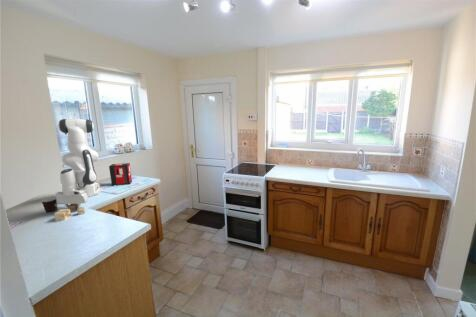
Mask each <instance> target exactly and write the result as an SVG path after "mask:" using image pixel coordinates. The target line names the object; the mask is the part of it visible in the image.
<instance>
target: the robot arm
mask: <svg viewBox="0 0 476 317" xmlns="http://www.w3.org/2000/svg"><path fill="white" fill-rule="evenodd" d="M57 127H58V129H59V131H60V132H61V133H63V134H65V135H66V136H67V148H68V151H69V152H68V153H65V154H63V155H62V157H61V161H62V163H63V164H64V165H65V166H66V167H69V168H65V169H63V170H61V171H60V173H59V180H60V184H61V185H62V187H61V189H62V191H57V192H56V193H55V197H56V201H57V205H64V206H65V208H67V209H68V207H67V206H69V205H70V204H77V205H78V206H77V207H76V208H80V207H81V205H82V204H86V203H87V202H89V198H90V197H92V196H95V195H96V196H97V195H99V194H100V193H101V192H102V191H103V190H104V188H103V187H101V186H100V185H101V184H99V183H98V182H96V181H97V178H98V176H97V173H96V171H95V167H94V162H97V161H98V160H99V153H98V151H96V150H94V149H92V148H91V147H90V145H89V142H88V134H90V133H92V132H93V131H94V128H95V124H94V122H93V121H92V120H90V119H83V118H69V119H68V118H63V119H60V120H59V121H58V126H57ZM88 197H89V198H88Z"/></svg>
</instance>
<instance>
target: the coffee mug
mask: <svg viewBox="0 0 476 317" xmlns="http://www.w3.org/2000/svg"><path fill="white" fill-rule="evenodd" d="M41 204H42V206H43V209H44V211H45V213H50V214H51V213H53V212H54V213H55V212H57V211H58V204H57V201H56V196H55V197H48V198H44V199H42V200H41Z"/></svg>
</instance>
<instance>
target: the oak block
mask: <svg viewBox="0 0 476 317" xmlns="http://www.w3.org/2000/svg"><path fill="white" fill-rule="evenodd" d="M71 212H72V211H70V209H66V208H65V209H64V208H63V209H59V210H57V211H55V212H54V213H53V214H54V218H55V220H63V221H67V220H68V219H69V217H70V216H71V215H72V213H71ZM71 217H72V216H71ZM71 217H70V218H71ZM67 218H68V219H67ZM66 219H67V220H66Z"/></svg>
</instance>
